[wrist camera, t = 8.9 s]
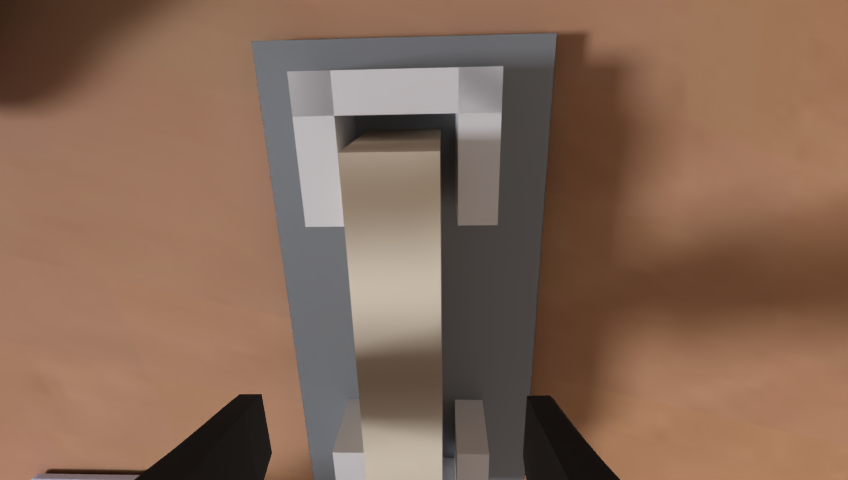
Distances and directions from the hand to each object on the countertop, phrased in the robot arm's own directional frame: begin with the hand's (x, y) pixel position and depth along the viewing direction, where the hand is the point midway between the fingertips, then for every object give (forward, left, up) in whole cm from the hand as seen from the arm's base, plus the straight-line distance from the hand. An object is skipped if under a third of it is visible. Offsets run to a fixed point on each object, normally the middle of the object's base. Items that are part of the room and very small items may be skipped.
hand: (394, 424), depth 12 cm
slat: (0, 0, -6) cm, 6 cm away
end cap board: (0, 0, -7) cm, 7 cm away
